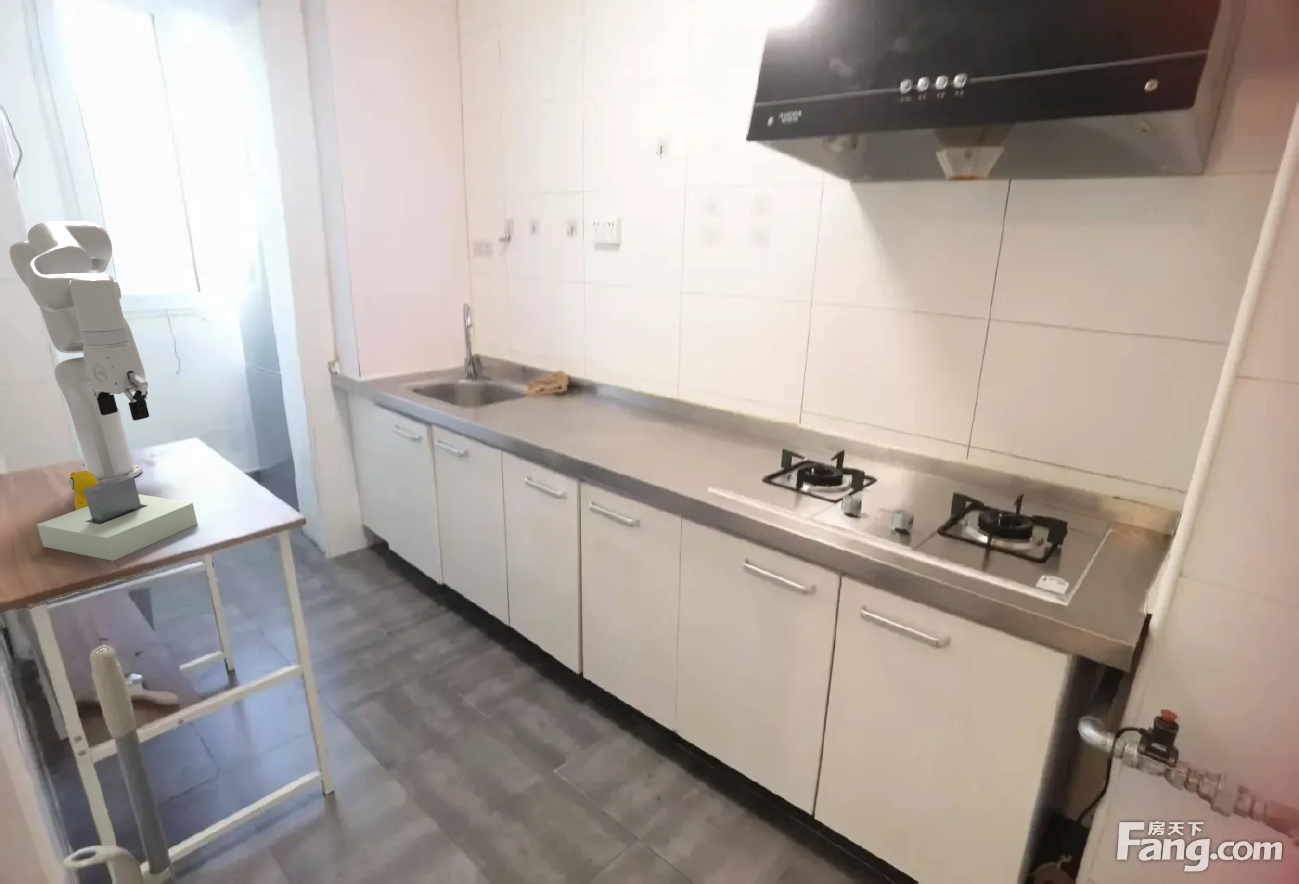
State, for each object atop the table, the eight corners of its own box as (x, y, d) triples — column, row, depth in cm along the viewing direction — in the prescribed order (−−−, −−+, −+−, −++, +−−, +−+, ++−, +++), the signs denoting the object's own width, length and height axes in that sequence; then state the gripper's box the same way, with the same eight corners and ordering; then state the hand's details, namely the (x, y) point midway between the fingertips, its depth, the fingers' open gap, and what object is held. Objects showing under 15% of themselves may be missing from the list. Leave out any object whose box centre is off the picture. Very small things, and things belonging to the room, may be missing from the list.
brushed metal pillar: (98, 542, 138) (83, 489, 134) (136, 526, 145) (123, 475, 141) (109, 544, 137) (94, 490, 133) (146, 528, 144) (133, 477, 141)
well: (43, 546, 136) (36, 524, 134) (132, 512, 152) (126, 492, 151) (113, 560, 130) (106, 538, 129) (197, 523, 146) (192, 503, 145)
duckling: (68, 511, 153) (56, 471, 149) (96, 503, 157) (84, 464, 154) (90, 522, 147) (78, 480, 144) (118, 514, 151) (107, 473, 148)
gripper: (57, 337, 137) (79, 416, 143) (115, 344, 132) (135, 425, 137) (96, 331, 144) (115, 407, 149) (153, 338, 139) (170, 416, 144)
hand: (125, 416), depth 143 cm, fingers open, 9 cm apart
